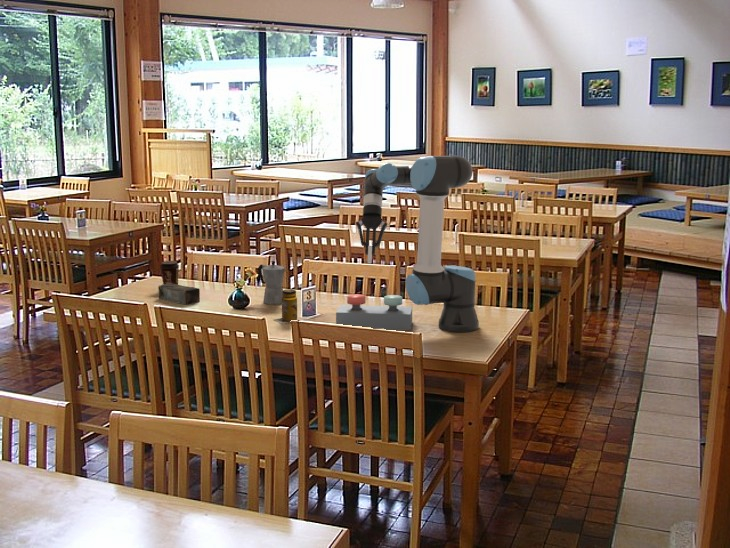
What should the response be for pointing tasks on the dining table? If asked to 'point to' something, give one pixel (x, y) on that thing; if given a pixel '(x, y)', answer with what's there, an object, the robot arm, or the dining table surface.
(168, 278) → the coffee cup
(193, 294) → the dark grey brick
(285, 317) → the condiment
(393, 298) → the teal button
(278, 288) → the coffeepot
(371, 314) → the control box
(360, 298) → the red button
